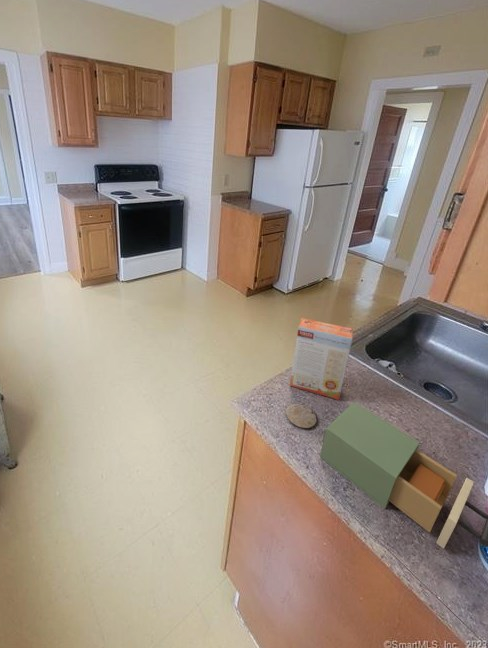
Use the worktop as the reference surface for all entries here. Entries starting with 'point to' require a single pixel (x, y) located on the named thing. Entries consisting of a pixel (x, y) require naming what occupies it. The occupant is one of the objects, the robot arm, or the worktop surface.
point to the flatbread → (301, 415)
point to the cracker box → (321, 357)
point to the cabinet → (367, 451)
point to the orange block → (427, 482)
